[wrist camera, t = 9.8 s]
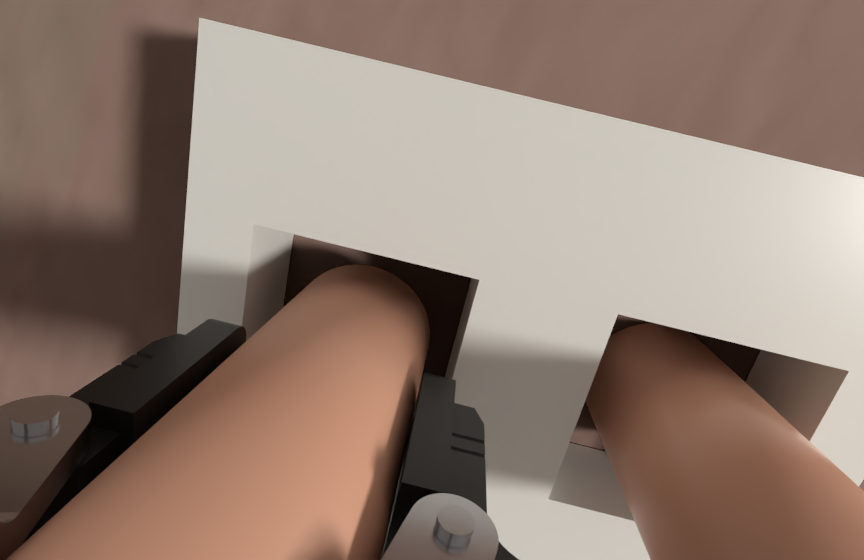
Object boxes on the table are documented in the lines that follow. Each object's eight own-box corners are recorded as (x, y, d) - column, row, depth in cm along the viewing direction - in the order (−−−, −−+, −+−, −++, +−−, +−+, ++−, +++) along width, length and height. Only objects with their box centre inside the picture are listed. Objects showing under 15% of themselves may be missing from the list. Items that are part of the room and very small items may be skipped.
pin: (304, 249, 13) (-130, 543, 4) (443, 283, 13) (363, 670, 4) (285, 374, 15) (-77, 834, 5) (413, 406, 14) (294, 933, 5)
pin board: (259, 43, 13) (-307, -197, 4) (904, 198, 13) (2118, 380, 3) (214, 457, 17) (-102, 849, 8) (699, 581, 17) (980, 1141, 8)
